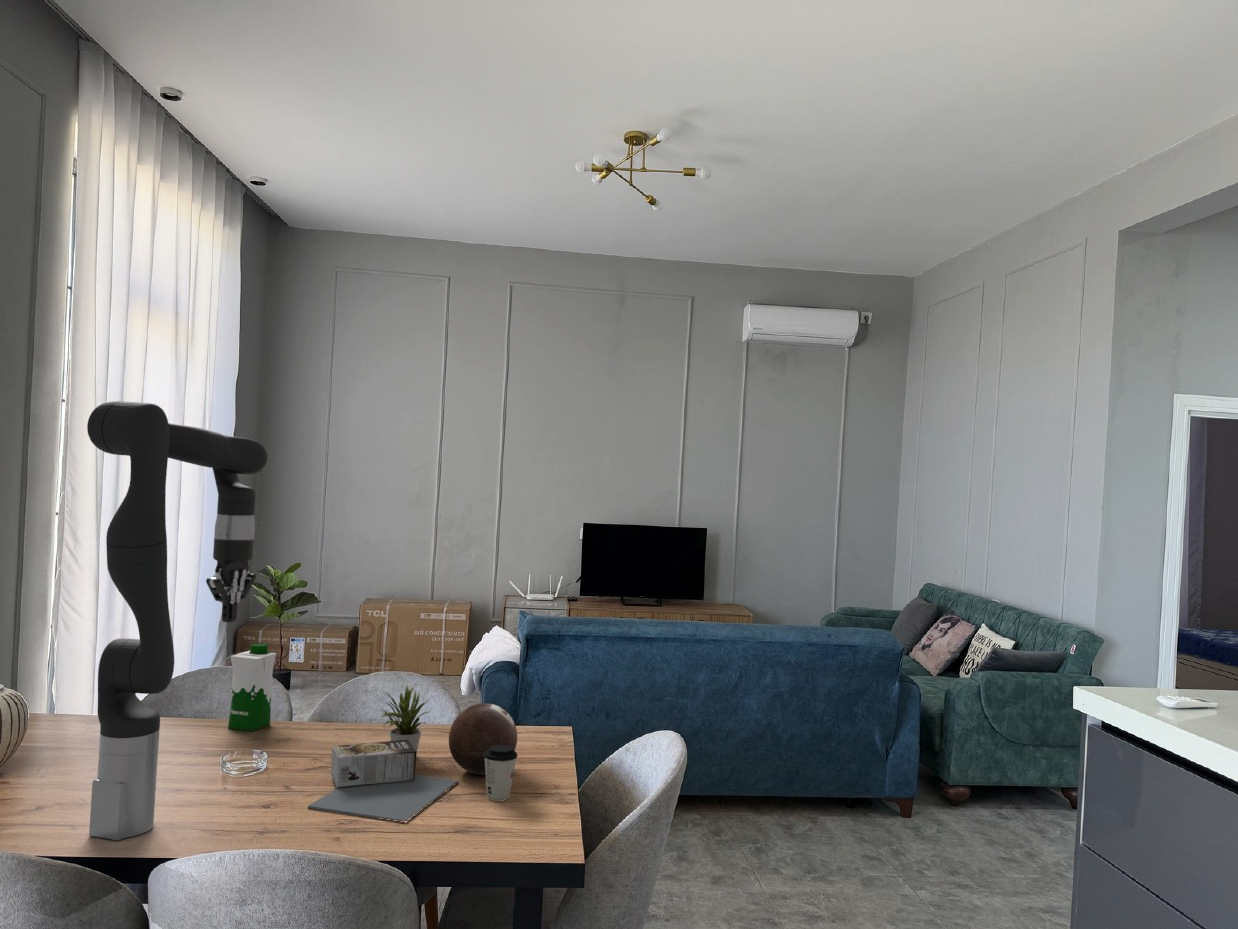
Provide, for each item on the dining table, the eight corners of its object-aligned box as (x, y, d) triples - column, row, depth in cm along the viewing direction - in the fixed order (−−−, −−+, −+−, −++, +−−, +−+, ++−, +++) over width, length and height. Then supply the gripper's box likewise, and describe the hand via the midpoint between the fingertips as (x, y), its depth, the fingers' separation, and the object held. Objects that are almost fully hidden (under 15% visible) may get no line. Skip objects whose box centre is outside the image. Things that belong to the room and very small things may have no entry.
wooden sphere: (520, 782, 191) (524, 712, 191) (450, 785, 186) (454, 714, 187) (509, 760, 205) (513, 695, 205) (443, 763, 201) (447, 696, 201)
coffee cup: (483, 804, 177) (485, 754, 177) (479, 792, 183) (481, 743, 184) (517, 803, 179) (520, 753, 179) (512, 790, 185) (515, 742, 186)
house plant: (366, 749, 208) (370, 679, 208) (426, 746, 213) (430, 677, 213) (372, 768, 194) (376, 694, 195) (436, 764, 199) (440, 691, 200)
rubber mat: (405, 823, 165) (405, 820, 165) (307, 808, 170) (308, 805, 170) (458, 782, 188) (458, 780, 188) (370, 770, 193) (370, 768, 193)
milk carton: (275, 724, 224) (280, 644, 225) (252, 733, 215) (257, 651, 216) (245, 720, 226) (250, 641, 227) (221, 729, 217) (226, 647, 218)
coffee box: (331, 744, 188) (407, 738, 195) (330, 775, 188) (406, 768, 195) (338, 756, 180) (417, 750, 187) (336, 789, 179) (416, 780, 186)
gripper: (229, 539, 174) (223, 628, 174) (270, 536, 187) (265, 618, 186) (196, 537, 176) (190, 624, 175) (239, 534, 189) (234, 615, 188)
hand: (229, 621), depth 181 cm, fingers closed
